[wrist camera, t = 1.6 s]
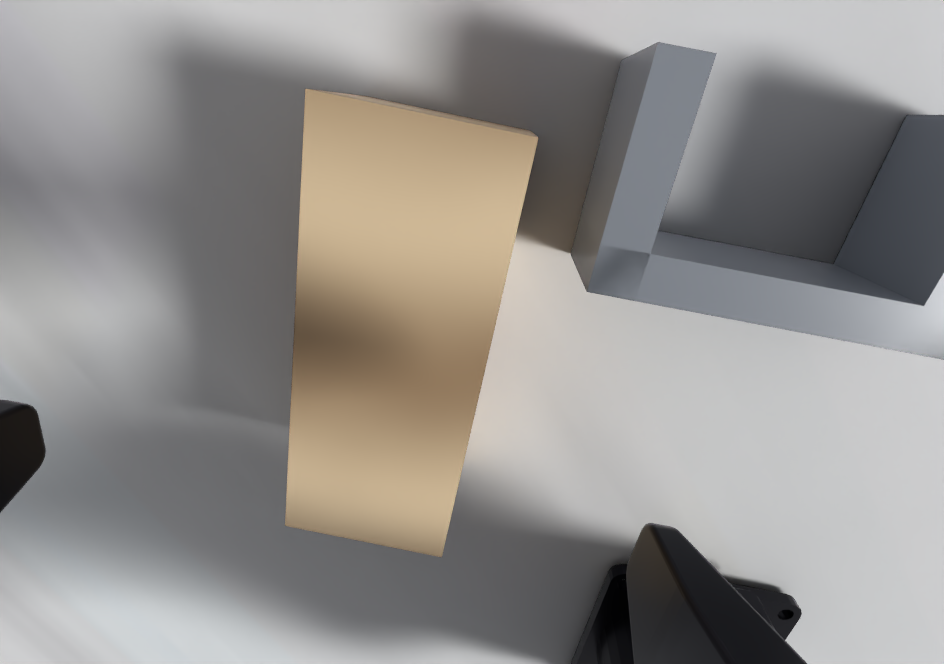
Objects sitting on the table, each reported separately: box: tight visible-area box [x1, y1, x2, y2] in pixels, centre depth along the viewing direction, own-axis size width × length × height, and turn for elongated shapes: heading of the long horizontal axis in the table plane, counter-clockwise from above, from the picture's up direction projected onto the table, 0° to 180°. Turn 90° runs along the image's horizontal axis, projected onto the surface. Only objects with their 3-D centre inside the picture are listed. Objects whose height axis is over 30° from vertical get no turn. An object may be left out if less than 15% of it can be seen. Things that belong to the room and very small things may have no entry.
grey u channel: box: [571, 42, 944, 360], centre depth 11 cm, size 4×8×3 cm, turn 80°
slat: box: [285, 89, 538, 557], centre depth 12 cm, size 10×4×4 cm, turn 169°
